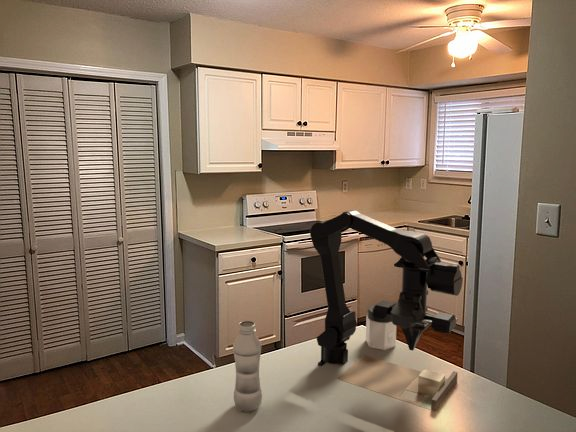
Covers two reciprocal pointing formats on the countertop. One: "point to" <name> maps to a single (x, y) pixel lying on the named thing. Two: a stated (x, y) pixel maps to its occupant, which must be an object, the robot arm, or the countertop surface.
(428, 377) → the block
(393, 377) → the board
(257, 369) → the plastic bottle
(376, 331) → the jar
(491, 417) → the countertop surface
